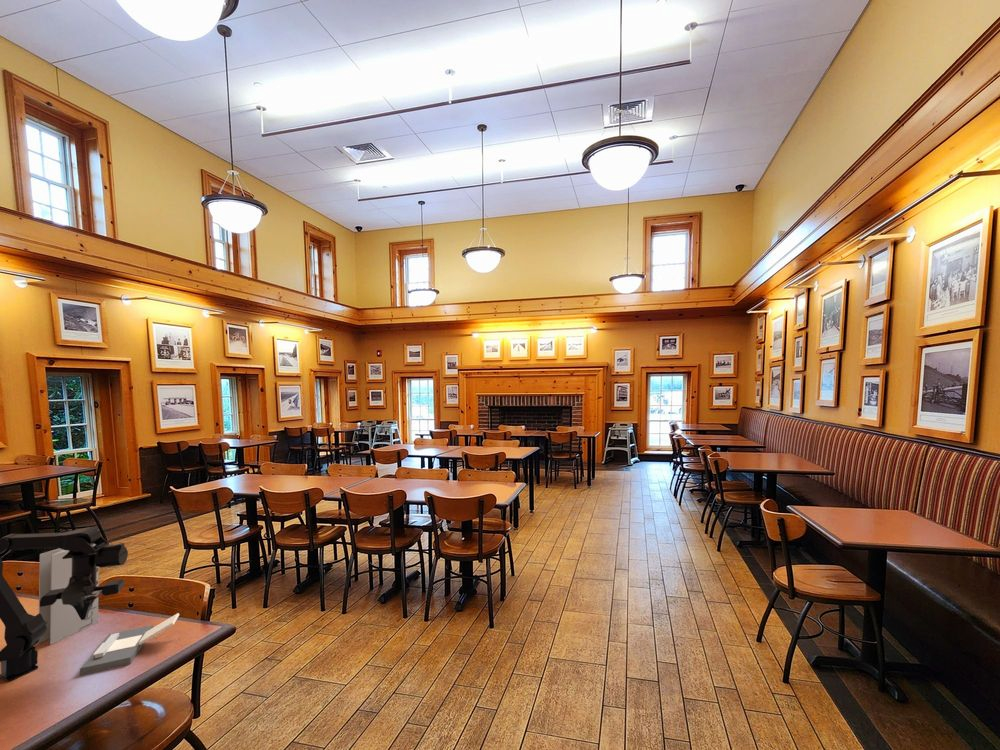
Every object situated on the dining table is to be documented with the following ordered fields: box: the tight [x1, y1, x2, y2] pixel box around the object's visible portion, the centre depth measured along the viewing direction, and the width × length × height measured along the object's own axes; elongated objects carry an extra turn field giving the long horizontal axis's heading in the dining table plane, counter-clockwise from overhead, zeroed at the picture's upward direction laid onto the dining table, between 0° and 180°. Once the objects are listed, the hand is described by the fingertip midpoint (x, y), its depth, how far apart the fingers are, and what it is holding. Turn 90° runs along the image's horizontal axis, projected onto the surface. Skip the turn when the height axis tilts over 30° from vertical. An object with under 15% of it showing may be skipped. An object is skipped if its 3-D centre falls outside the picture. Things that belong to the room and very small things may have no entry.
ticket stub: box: [139, 612, 180, 645], centre depth 143 cm, size 1×7×10 cm
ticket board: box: [79, 624, 154, 676], centre depth 138 cm, size 12×20×3 cm, turn 24°
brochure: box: [38, 544, 100, 645], centre depth 151 cm, size 14×6×30 cm, turn 168°
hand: (83, 619), depth 134 cm, fingers closed
